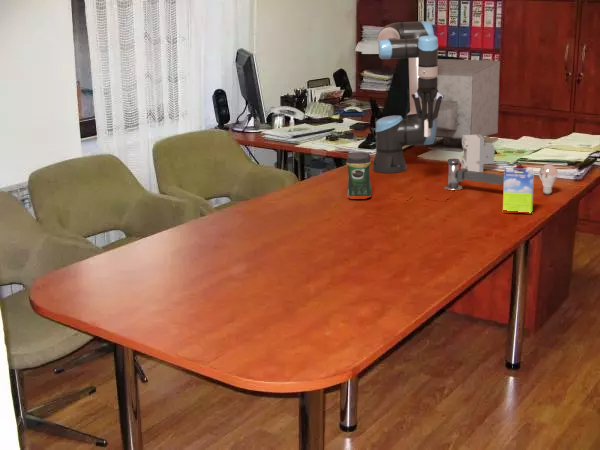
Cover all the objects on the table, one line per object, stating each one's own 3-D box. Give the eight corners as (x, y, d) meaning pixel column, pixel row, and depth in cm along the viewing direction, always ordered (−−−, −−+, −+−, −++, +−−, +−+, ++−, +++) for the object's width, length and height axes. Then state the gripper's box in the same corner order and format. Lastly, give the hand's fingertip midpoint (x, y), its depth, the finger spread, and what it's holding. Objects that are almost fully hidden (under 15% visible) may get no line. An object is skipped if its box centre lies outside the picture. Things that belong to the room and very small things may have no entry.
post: (441, 190, 333) (442, 161, 329) (448, 185, 339) (448, 157, 335) (458, 192, 329) (458, 163, 326) (464, 187, 335) (465, 159, 331)
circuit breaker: (497, 171, 356) (498, 137, 352) (464, 172, 357) (464, 138, 352) (493, 167, 363) (494, 133, 359) (461, 168, 364) (461, 135, 359)
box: (532, 212, 301) (534, 166, 296) (532, 215, 298) (534, 169, 292) (503, 210, 305) (504, 165, 299) (502, 214, 301) (503, 168, 295)
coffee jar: (372, 195, 331) (371, 150, 325) (370, 201, 324) (369, 154, 318) (348, 195, 333) (347, 150, 327) (346, 200, 326) (344, 154, 320)
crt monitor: (498, 141, 409) (500, 60, 396) (470, 158, 379) (472, 71, 367) (433, 136, 427) (433, 58, 414) (401, 152, 397) (400, 68, 385)
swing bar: (457, 180, 329) (457, 167, 327) (462, 177, 333) (463, 164, 331) (509, 187, 317) (510, 173, 315) (514, 184, 320) (515, 170, 319)
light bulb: (557, 192, 323) (559, 163, 319) (555, 197, 317) (556, 167, 313) (539, 191, 325) (541, 161, 322) (536, 196, 320) (537, 166, 316)
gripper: (408, 77, 320) (408, 136, 329) (439, 79, 314) (439, 139, 322) (416, 74, 326) (416, 132, 335) (447, 76, 320) (446, 135, 328)
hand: (427, 135), depth 328 cm, fingers closed
